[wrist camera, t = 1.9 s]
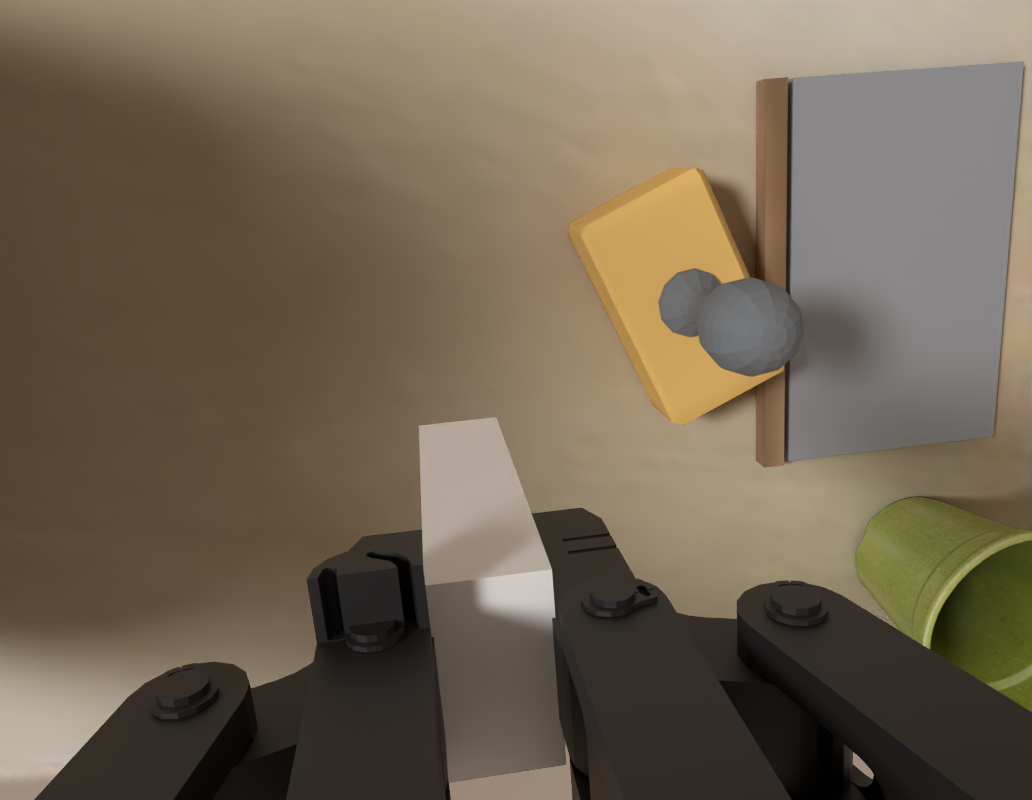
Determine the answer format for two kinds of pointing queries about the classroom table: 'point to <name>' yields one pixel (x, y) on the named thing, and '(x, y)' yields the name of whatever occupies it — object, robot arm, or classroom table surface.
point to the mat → (898, 255)
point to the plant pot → (955, 588)
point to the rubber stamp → (684, 295)
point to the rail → (771, 249)
